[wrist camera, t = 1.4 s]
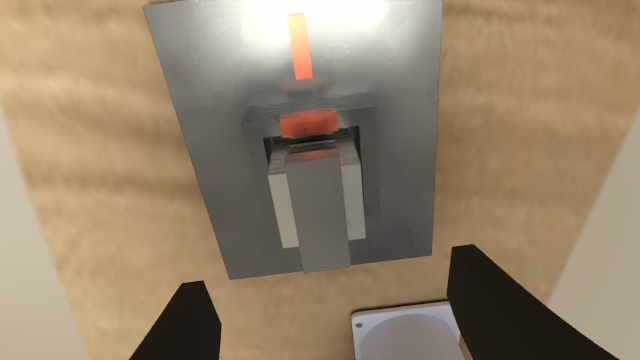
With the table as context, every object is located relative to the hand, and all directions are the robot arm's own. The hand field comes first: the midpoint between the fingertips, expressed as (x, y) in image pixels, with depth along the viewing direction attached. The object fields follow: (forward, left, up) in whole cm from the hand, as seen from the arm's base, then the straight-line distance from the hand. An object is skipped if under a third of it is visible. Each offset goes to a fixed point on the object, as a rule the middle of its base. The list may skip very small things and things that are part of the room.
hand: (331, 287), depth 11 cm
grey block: (0, 0, -11) cm, 11 cm away
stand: (0, 0, -11) cm, 11 cm away
